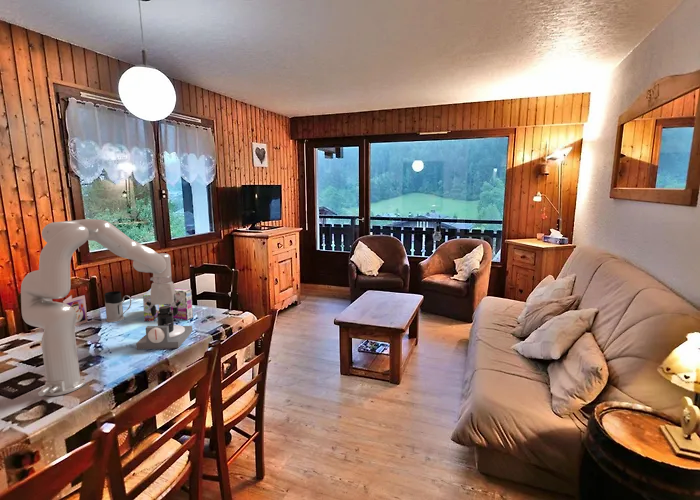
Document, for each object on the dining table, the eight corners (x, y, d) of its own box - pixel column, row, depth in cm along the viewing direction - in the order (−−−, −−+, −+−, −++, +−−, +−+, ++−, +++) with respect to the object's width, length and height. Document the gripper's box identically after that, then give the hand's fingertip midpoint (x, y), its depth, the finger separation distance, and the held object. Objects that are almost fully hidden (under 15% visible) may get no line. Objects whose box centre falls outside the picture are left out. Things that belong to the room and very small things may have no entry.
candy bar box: (193, 317, 206) (192, 289, 203) (187, 320, 201) (185, 291, 198) (177, 315, 209) (175, 287, 206) (170, 318, 204) (168, 289, 201)
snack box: (155, 321, 199) (153, 294, 197) (143, 322, 198) (141, 295, 196) (165, 309, 220) (163, 284, 217) (155, 309, 218) (153, 285, 216)
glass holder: (113, 316, 206) (110, 290, 204) (137, 317, 205) (135, 291, 203) (102, 321, 197) (99, 295, 195) (127, 322, 197) (125, 295, 194)
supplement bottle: (167, 334, 171) (165, 310, 169) (154, 333, 172) (152, 308, 170) (177, 329, 178) (175, 305, 176) (164, 328, 179) (163, 304, 177)
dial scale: (177, 348, 165) (176, 327, 163) (135, 350, 163) (134, 328, 162) (192, 331, 185) (191, 312, 184) (155, 332, 184) (153, 313, 182)
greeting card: (67, 329, 186) (64, 301, 184) (56, 328, 188) (53, 300, 186) (88, 322, 197) (85, 295, 195) (78, 320, 199) (75, 294, 196)
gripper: (139, 281, 166) (141, 318, 169) (179, 281, 168) (180, 317, 171) (146, 278, 174) (149, 312, 176) (184, 278, 175) (186, 312, 178)
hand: (164, 315), depth 173 cm, fingers open, 9 cm apart
